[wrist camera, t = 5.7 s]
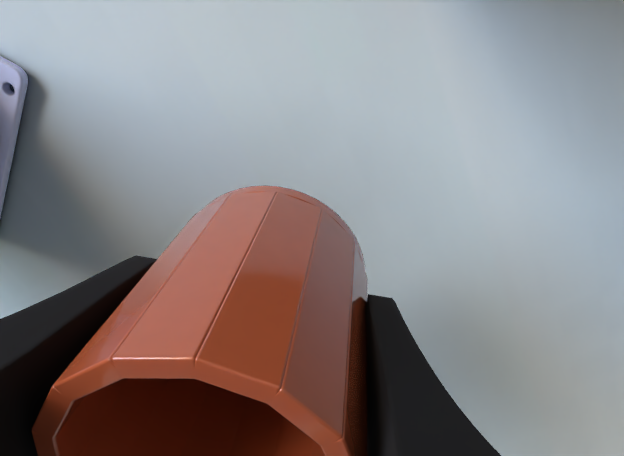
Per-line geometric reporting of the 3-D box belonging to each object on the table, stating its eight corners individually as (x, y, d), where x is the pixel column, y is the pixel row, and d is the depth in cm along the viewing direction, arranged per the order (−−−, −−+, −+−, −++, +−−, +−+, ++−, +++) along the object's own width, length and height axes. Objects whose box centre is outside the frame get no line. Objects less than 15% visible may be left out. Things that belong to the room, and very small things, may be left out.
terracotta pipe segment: (400, 303, 13) (426, 543, 7) (250, 364, 15) (173, 597, 9) (302, 147, 11) (231, 300, 5) (145, 239, 13) (-36, 427, 7)
